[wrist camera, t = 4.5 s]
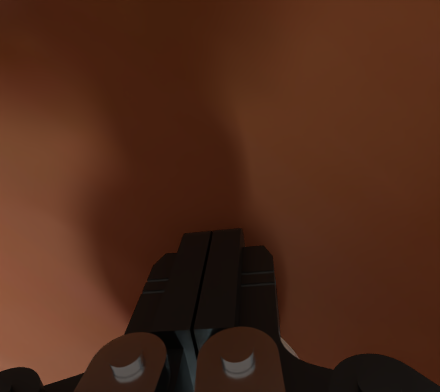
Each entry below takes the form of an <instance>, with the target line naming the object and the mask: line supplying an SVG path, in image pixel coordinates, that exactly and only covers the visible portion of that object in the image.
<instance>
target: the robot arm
mask: <svg viewBox="0 0 440 392" xmlns="http://www.w3.org/2000/svg"><path fill="white" fill-rule="evenodd" d="M147 280H148V282H146V284H145V286H144V289H143V294H141V296H140V298H139V301H138V303H137V305H136V308H135V310H134V312H133V315H132V317H131V320H130V322H129V324H128V327H127V329H126V331H125V334H124V335H122V336H120V337H118V338H116V339H114V340H112V341H110V342H109V343H107V344H106V345H105V346H103V347H102V348H101V349H100V350H99V351H98V352H97V353H96V355H95V356H94V357H93V359H92V360H91V362H90V364H89V366H88V367H87V369H86V371H85V372H84V373H82V374H79V375H77V376H73V377H70V378H67V379H64V380H61V381H57V382H54V383H51V384H48V385H45V386H43V384H42V382H41V380H40V377H39V376H38V374H37V373H36V372H35V371H34V370H32V369H30V368H25V367H17V368H11V369H7V370H4V371H1V372H0V392H440V386H438V385H437V384H435V383H434V382H432V381H431V380H429V379H428V378H426V377H425V376H423V375H421V374H420V373H418V372H417V371H415V370H414V369H412V368H411V367H409V366H408V365H406V364H404V363H403V362H401V361H398V360H396V359H394V358H391V357H388V356H384V355H379V354H359V355H355V356H352V357H349V358H347V359H345V360H343V361H342V362H340V363H339V364H338V365H337V366H336V367H335V369H334V370H332V369H328V368H324V367H320V366H316V365H312V364H309V363H307V362H304V361H302V360H300V359H298V358H297V357H295V356H294V355H292V354H291V353H290V352H289V351H288V350H287V349H286V348H285V347H284V345H283V343H282V342H281V336H280V323H279V311H278V300H277V291H276V282H275V273H274V264H273V256H272V255H271V254H270V253H269V251H268V250H267V249H266V248H265V247H264V246H251V247H245V243H244V236H243V231H242V228H237V229H226V230H215V231H205V232H194V233H185V234H184V235H183V238H182V241H181V243H180V246H179V249H178V252H177V253H168V254H165V255H164V256H163V257H162V258H161V259H160V260H159V261H158V262H157V263H156V264H155V265H154V266H153V267H152V270H151V272H150V275H149V277H148V279H147Z"/></svg>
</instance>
